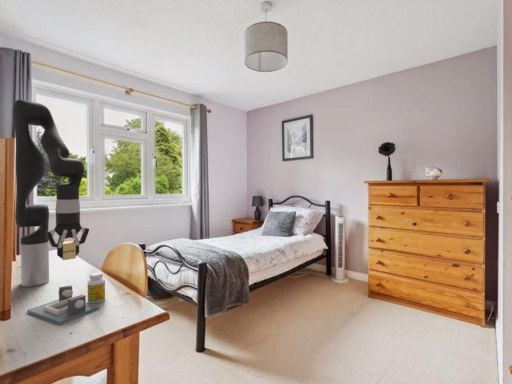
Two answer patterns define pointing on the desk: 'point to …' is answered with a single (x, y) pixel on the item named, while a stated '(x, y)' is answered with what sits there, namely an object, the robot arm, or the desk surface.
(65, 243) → the tan rectangular block
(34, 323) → the desk surface
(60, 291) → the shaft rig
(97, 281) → the supplement bottle
